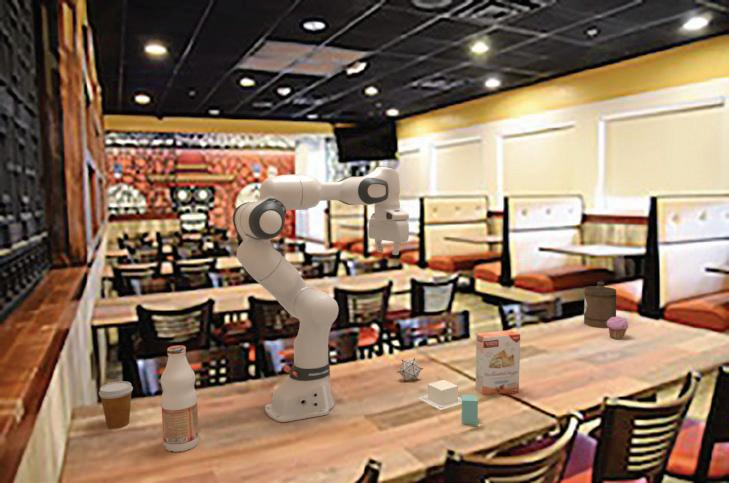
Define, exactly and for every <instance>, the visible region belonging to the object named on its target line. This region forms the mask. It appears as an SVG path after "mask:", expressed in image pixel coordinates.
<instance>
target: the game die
mask: <svg viewBox="0 0 729 483" xmlns="http://www.w3.org/2000/svg"><path fill="white" fill-rule="evenodd" d="M415 360H416V357H414V358H413V359H410V360H409V359H408V360H404V359H401V361H402V363H401V366H400V369H399V370H398V371H397V373H399V374H400V375H401V376H402V378H403V379H404V383H407V382H409V381H416V380H418V378H419V375H420V373H421V371H422V370H423V369H424V368H423V367H420V366H419V364H418V363H417V361H415Z"/></svg>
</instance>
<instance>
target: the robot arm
mask: <svg viewBox="0 0 729 483" xmlns="http://www.w3.org/2000/svg"><path fill="white" fill-rule="evenodd" d="M400 185H401V183H400V176H399V172H398V170H397V169H395V168H394V167H392V166H384V165H383V166H382V165H381V166H380V165H379V166H376V167H375V169H374V170H372V171H371V172H370V173H367V174H366V175H364V176H345V177H344V178H342V179H340V180H338V181H319V180H318V179H317V177H315V176H314V175H313V176H312V175H307V174H281V175H276V176H270V177H267V178H266V179H264V180H263V181H262V182H261V185H260V188H259V197H258V199H257V201H247V202H244V203H242V204H240V205H238V206H237V207H236V208H235V209H234V211H233V214H232V223H233V227H234V229H235V232H236V236H237V238H238V240H240V241H241V243H240V244H239V246H238V248H237V250H236V258H237V261H238V262H239V264H240V265H241V266H242V267H243V268H244V269H245V271H246V272H247V273H248V274H249V275H250V277H252V278H253V280H255V281H256V282H257V283H258V284H259V285H260V286H261V287H263V288H264V289H265V290H266V291H267V292H268V293H269V294H270V295H271V296H272V297H273V298H275V299H276V301H277V302H278V303H279V304H280V305H281V307H283V308H284V310H286V312H287V314H289V315H291V316H292V317H293V318H295V319H297V320H298V321H299V327H298V328H299V329H298V332H297V335H296V337H295V338H294V340H293V364H292V366H290V365H287V364H286V365H284V367H283V371H284V372H286V373H289V376H288V377H287V378H286V379H285V380H284V381H283V382H282V383H281V384H280V385H278V386H277V387H276V388H275V389H273V393H272V397H271V403H267V404H266V405H265V408H264V412H265V414H266V415H267V416H268V417H269V418H270V419H272V420H274V421H276V422H281V423H286V422H291V421H298V420H304V419H310V418H315V417H321V416H325V415H328V414H329V412H330V410H331V409H332V408H334V406H335V401H334V399H333V394H332V389H331V385H330V378H331V369H330V368H331V366H330V364H331V363H330V362H329V337H330V331H331V328H332V325H333V323H334V322H335V321H336V319H337V318H338V315H339V311H340V310H339V305H338V302H337V300H336V299H334V298H333V297H332V295H330V294H329V293H327V292H326V291H322V290H319V289H316V288H314V287H313V286H311V285H309V284H308V283H307V282H306V281H305V280H304V278H303V277H302V276H301V274H300V272H299V270H298V269H297V268H296V267H295V266H294V265H293V264H292V263H291V262H290V261H289V260H288V259H287V258H286V257H285V256H283V255H282V253H280V252H279V251H278V250H277V249H276V248H275V247H274V246H273V244H272V242H271V240H272V239H274V238H276V237H278V236H279V235H280V234H281V233H282V231H283V230H284V228H285V224H286V214H287V211H298V210H307V209H311V208H312V209H313V208H315V207H317V205H319V203H320V202H321V201H323V202H324V201H339V202H340V203H343V204H345V205H347V206H353V205H354V206H355V205H357V206H359V205H360V206H371V205H374V212H373V213H372V214H371V215H370V219H369V221H368V231H367V232H368V233H367V234H368V238H369V239H371V240H372V239H373V240H374V243H375V246H376V252H378V253H383V252H384V247H383V245H382V242H383V241H387V242H393V245H394V246H393V249H391V253H392V255H394V256H398V255H399V253H400V248H401V246H402V245H401V244H402V243H407V242H408V240H409V239H410V238H409V237H410V227H409V226H410V225H409V221H408V220H409V217H410V214H409V213H408V212H406V211H405V210H404V209H402V208H401V204H400V200H399V199H400V192H401V187H400Z"/></svg>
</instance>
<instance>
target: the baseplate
mask: <svg viewBox="0 0 729 483" xmlns="http://www.w3.org/2000/svg"><path fill="white" fill-rule="evenodd" d="M417 399H419V400H421V401H422V402H424V403H426V404H428V405H430V406H432V407H434V408H436V409H437V410H439V411H443V410H446V409H448V408H449V409H450V408H452V407H456V406H458V405H462V397H460V396H458V401H456V402H452V403H449V404H445V405H439V404H437V403H435V402H433V401H432V400H430V399H428V394H426V395H423V396H419V397H417Z"/></svg>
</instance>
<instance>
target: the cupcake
mask: <svg viewBox="0 0 729 483" xmlns="http://www.w3.org/2000/svg"><path fill="white" fill-rule="evenodd" d="M607 326H608V327H609V328H608V334H609V337H610V338H612V339H614V340H621V339H623V338H624V337H625V336H626V333H627V330H628V328H629V324H628V321H627V320H626V319H625V318H624V317H621V316H616V317H611V318H610V319H609V320H608V321H607Z"/></svg>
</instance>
